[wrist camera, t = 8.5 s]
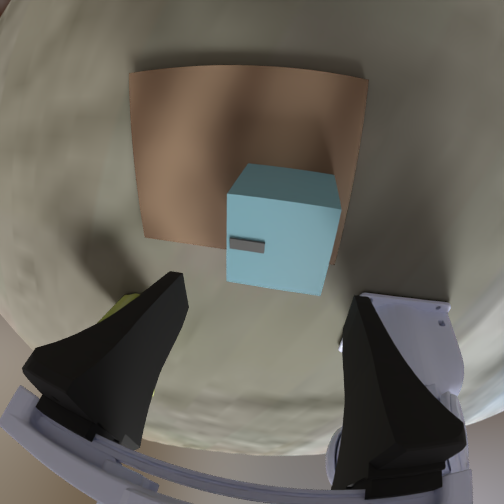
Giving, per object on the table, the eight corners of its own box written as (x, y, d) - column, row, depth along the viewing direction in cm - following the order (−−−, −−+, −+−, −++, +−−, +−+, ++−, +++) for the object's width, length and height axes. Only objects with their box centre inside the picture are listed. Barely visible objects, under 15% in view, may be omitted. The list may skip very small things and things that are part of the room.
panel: (364, 79, 14) (368, 79, 13) (333, 255, 21) (334, 264, 21) (138, 72, 16) (128, 73, 15) (151, 229, 23) (144, 237, 22)
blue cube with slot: (334, 174, 17) (341, 210, 13) (320, 247, 20) (320, 297, 16) (247, 163, 18) (226, 194, 13) (244, 236, 21) (225, 282, 16)
